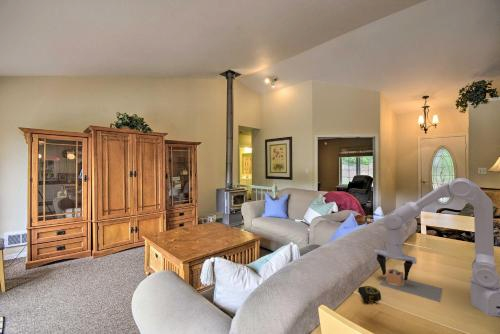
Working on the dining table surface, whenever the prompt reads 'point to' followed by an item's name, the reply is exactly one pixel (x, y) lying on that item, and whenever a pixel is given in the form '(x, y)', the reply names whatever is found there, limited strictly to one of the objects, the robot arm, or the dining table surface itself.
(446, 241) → the dining table surface
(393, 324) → the dining table surface
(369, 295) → the tape measure
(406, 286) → the seat plate
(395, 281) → the collar
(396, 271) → the steel post
